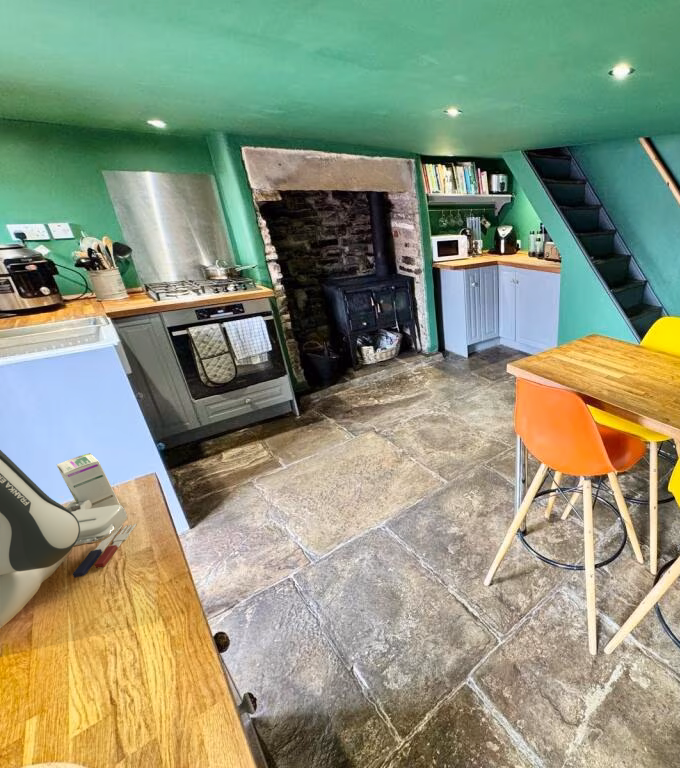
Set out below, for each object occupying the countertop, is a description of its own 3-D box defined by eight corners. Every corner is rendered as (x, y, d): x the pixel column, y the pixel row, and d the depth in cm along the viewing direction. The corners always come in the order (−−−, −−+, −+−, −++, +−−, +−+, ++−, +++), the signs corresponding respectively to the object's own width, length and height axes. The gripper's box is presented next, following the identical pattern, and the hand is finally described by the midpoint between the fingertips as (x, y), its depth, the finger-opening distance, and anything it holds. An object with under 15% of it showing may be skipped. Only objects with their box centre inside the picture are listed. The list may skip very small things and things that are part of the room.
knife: (74, 577, 77) (72, 574, 77) (114, 527, 89) (112, 523, 89) (84, 575, 78) (82, 572, 77) (123, 525, 90) (121, 522, 89)
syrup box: (124, 511, 94) (100, 459, 88) (90, 527, 89) (62, 473, 83) (115, 502, 96) (91, 451, 91) (81, 516, 92) (54, 463, 86)
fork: (93, 569, 79) (91, 565, 79) (125, 526, 89) (123, 523, 89) (107, 566, 80) (105, 562, 79) (137, 524, 90) (135, 521, 90)
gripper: (98, 528, 77) (135, 483, 89) (-47, 551, 71) (14, 500, 83) (111, 552, 79) (145, 506, 91) (-28, 576, 73) (28, 524, 85)
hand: (82, 503), depth 87 cm, fingers closed
